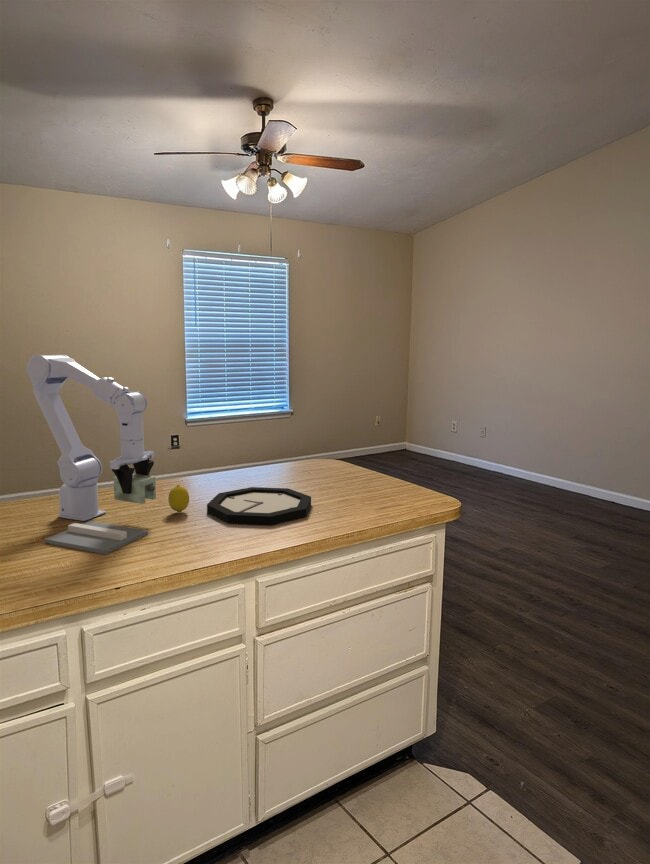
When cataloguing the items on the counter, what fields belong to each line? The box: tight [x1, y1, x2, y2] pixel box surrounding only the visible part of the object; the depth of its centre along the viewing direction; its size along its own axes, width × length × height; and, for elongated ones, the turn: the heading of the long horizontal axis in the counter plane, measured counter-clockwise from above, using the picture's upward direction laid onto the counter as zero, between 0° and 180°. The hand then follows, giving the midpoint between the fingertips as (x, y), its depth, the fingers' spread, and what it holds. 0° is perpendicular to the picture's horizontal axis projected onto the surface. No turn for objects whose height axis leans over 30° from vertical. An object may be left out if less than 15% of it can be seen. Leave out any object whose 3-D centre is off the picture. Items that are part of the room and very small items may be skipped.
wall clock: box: [206, 486, 312, 527], centre depth 152 cm, size 30×3×30 cm
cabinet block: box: [113, 473, 157, 505], centre depth 138 cm, size 10×5×6 cm, turn 70°
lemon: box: [168, 484, 190, 514], centre depth 147 cm, size 6×6×8 cm
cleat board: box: [44, 520, 148, 555], centre depth 127 cm, size 18×14×2 cm
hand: (134, 490), depth 139 cm, fingers closed on cabinet block, 5 cm apart
